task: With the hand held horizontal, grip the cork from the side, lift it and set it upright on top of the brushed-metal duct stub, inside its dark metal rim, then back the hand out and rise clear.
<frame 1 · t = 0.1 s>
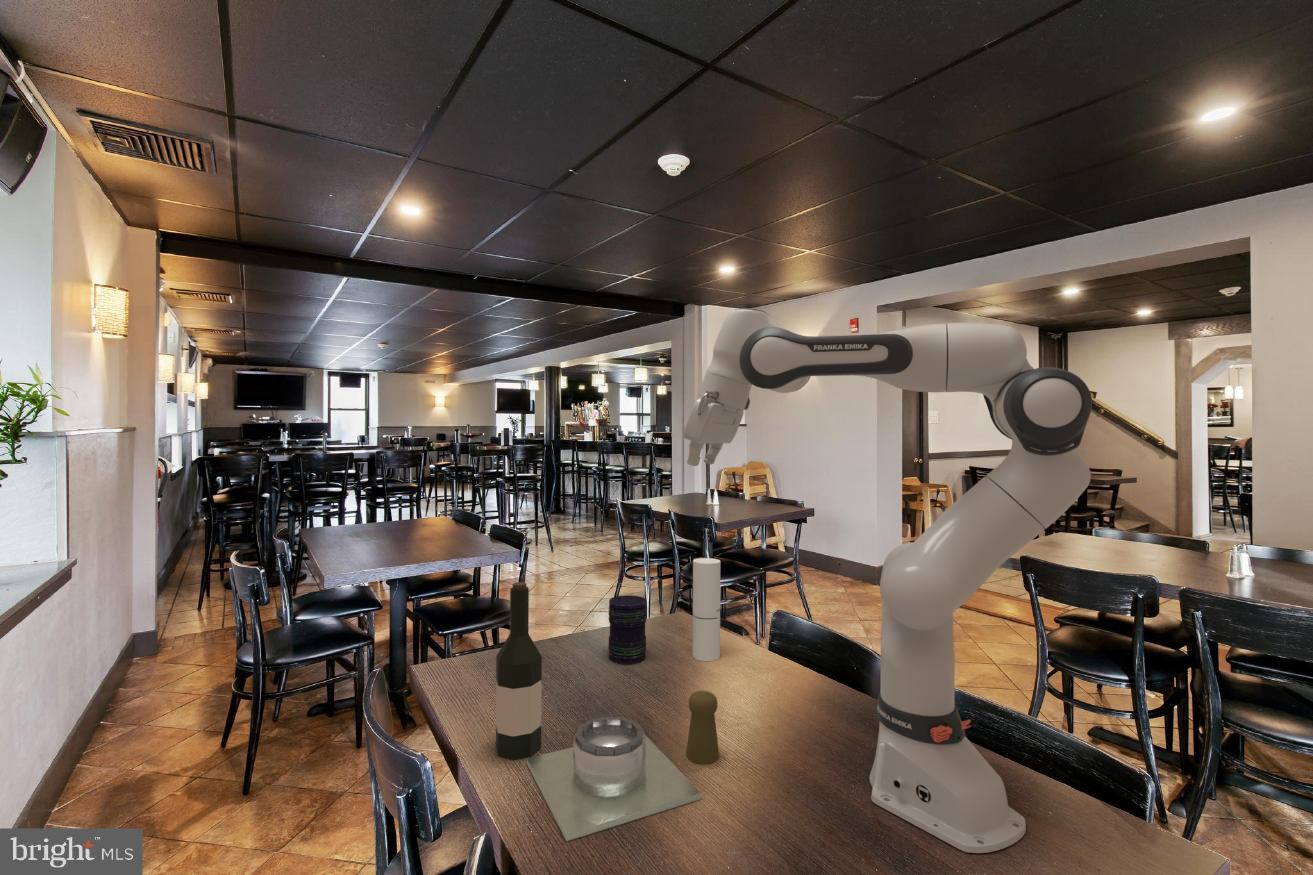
hand: (700, 464, 111), 52 cm above the table, tool tilted 20°, fingers open, 8 cm apart
cork: (702, 756, 105), on the table
storage jar: (627, 658, 152), on the table
cylindrical container: (706, 657, 154), on the table
wine bottle: (518, 748, 107), on the table
duct stub: (609, 780, 97), on the table
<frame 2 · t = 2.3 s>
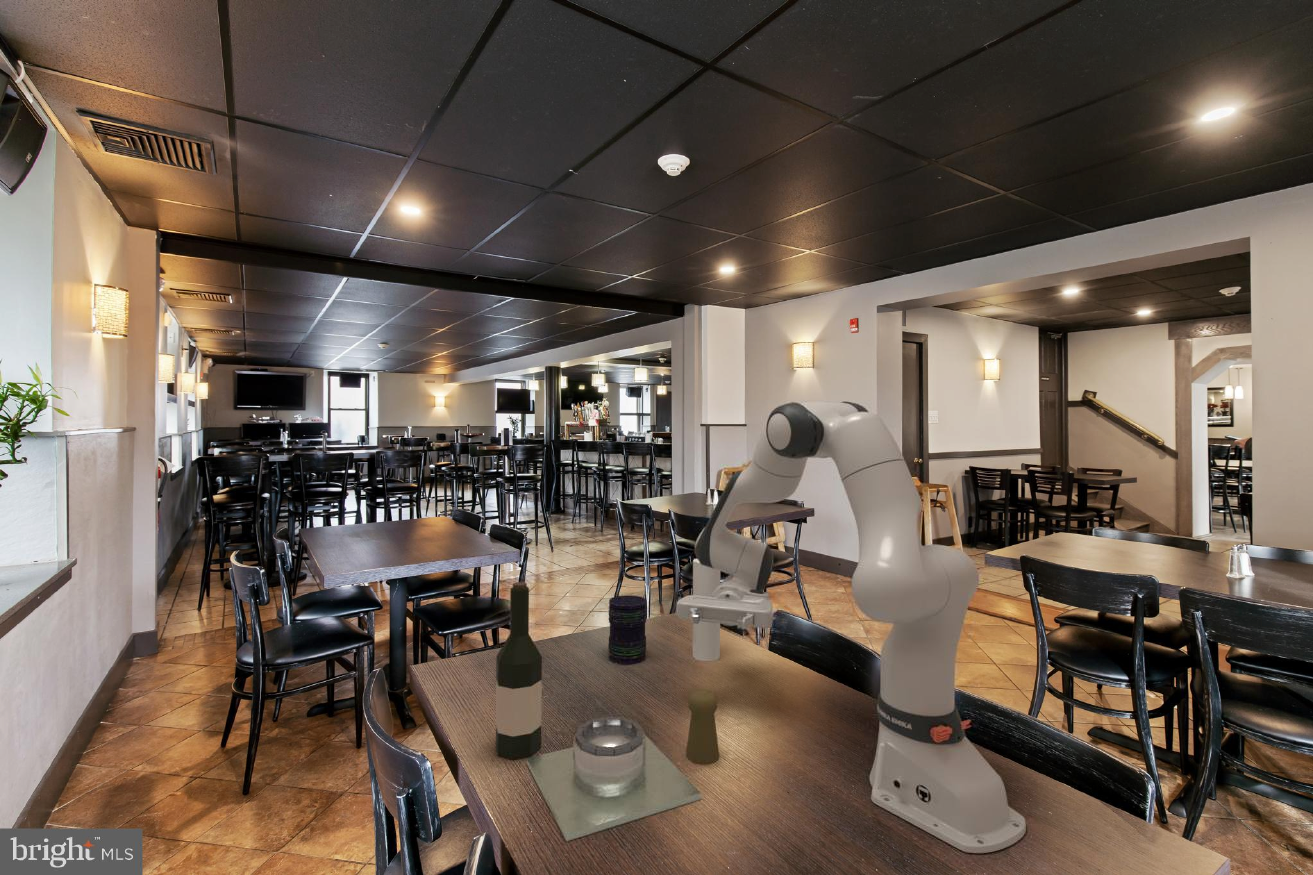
hand: (717, 622, 117), 20 cm above the table, tool horizontal, fingers open, 8 cm apart
nothing on the table moved.
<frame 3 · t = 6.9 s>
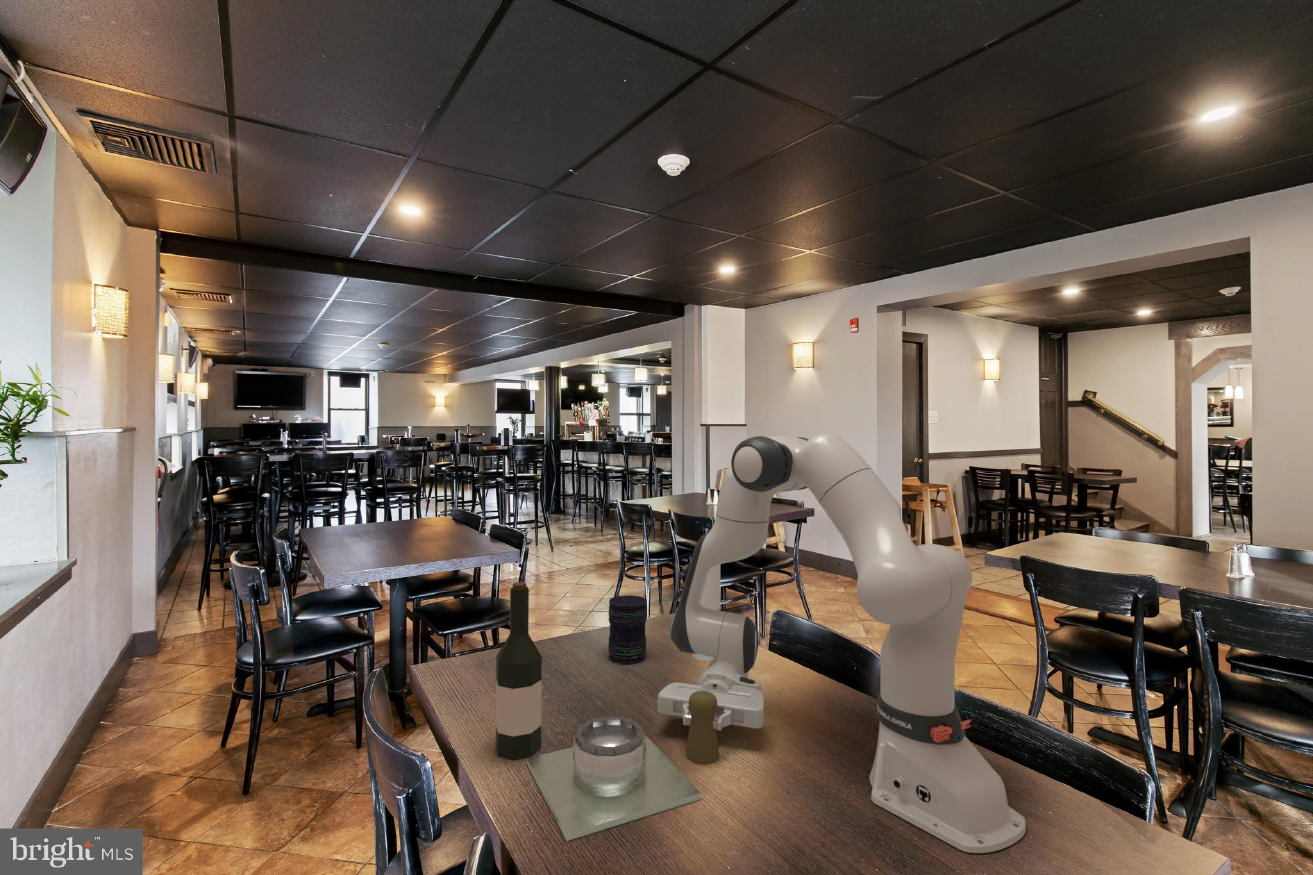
hand: (701, 723, 104), 6 cm above the table, tool horizontal, fingers closed on cork, 4 cm apart
cork: (702, 756, 105), on the table, touching gripper
everything else where it was.
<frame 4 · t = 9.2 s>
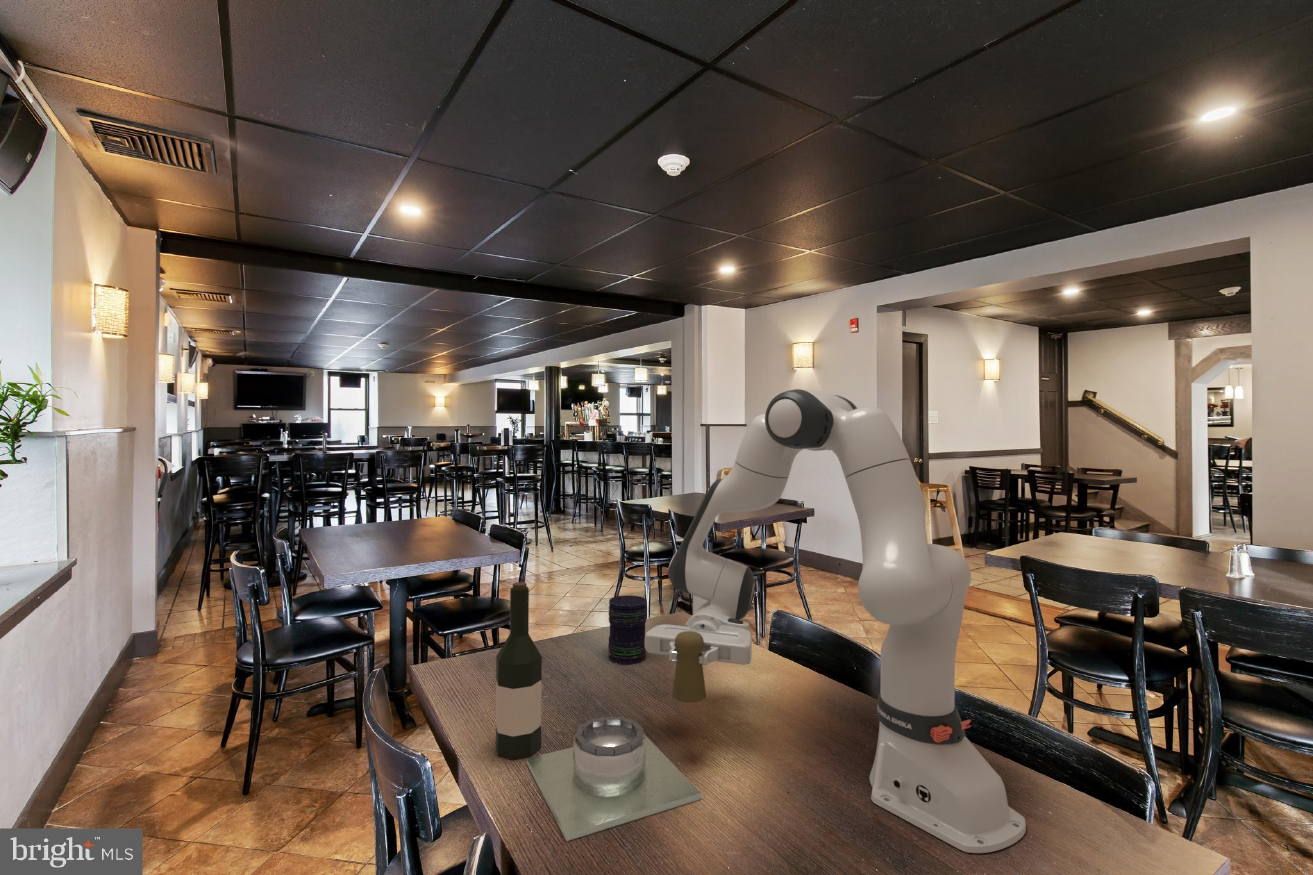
hand: (687, 658, 104), 18 cm above the table, tool horizontal, fingers closed on cork, 4 cm apart
cork: (689, 696, 104), point 11 cm above the table, touching gripper
everything else where it was.
when the fingers open (15 cm above the table, at t = 11.4 s): cork drops 1 cm, resting on duct stub.
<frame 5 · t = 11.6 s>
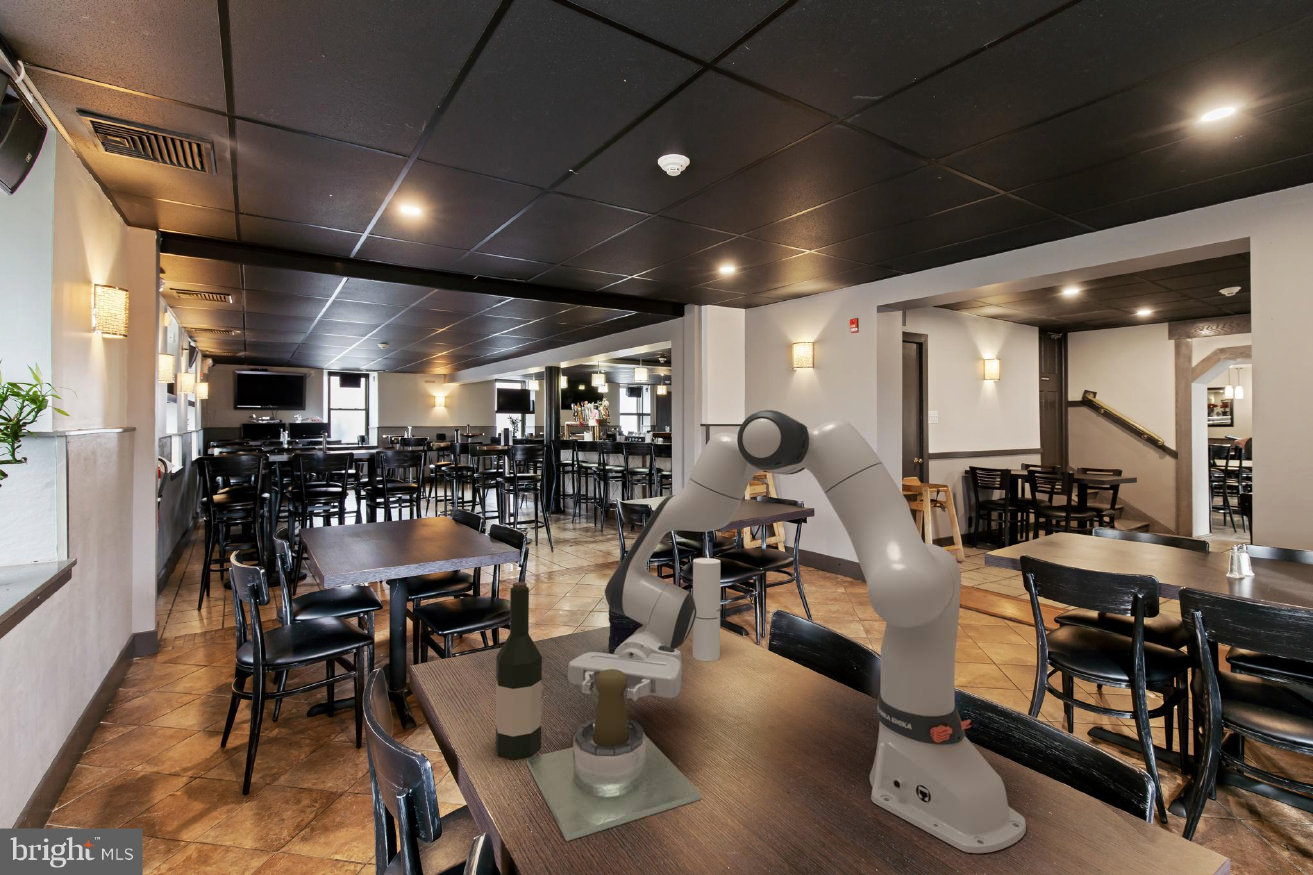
hand: (608, 692, 96), 15 cm above the table, tool horizontal, fingers open, 7 cm apart
cork: (610, 739, 97), point 7 cm above the table, touching duct stub
everything else where it was.
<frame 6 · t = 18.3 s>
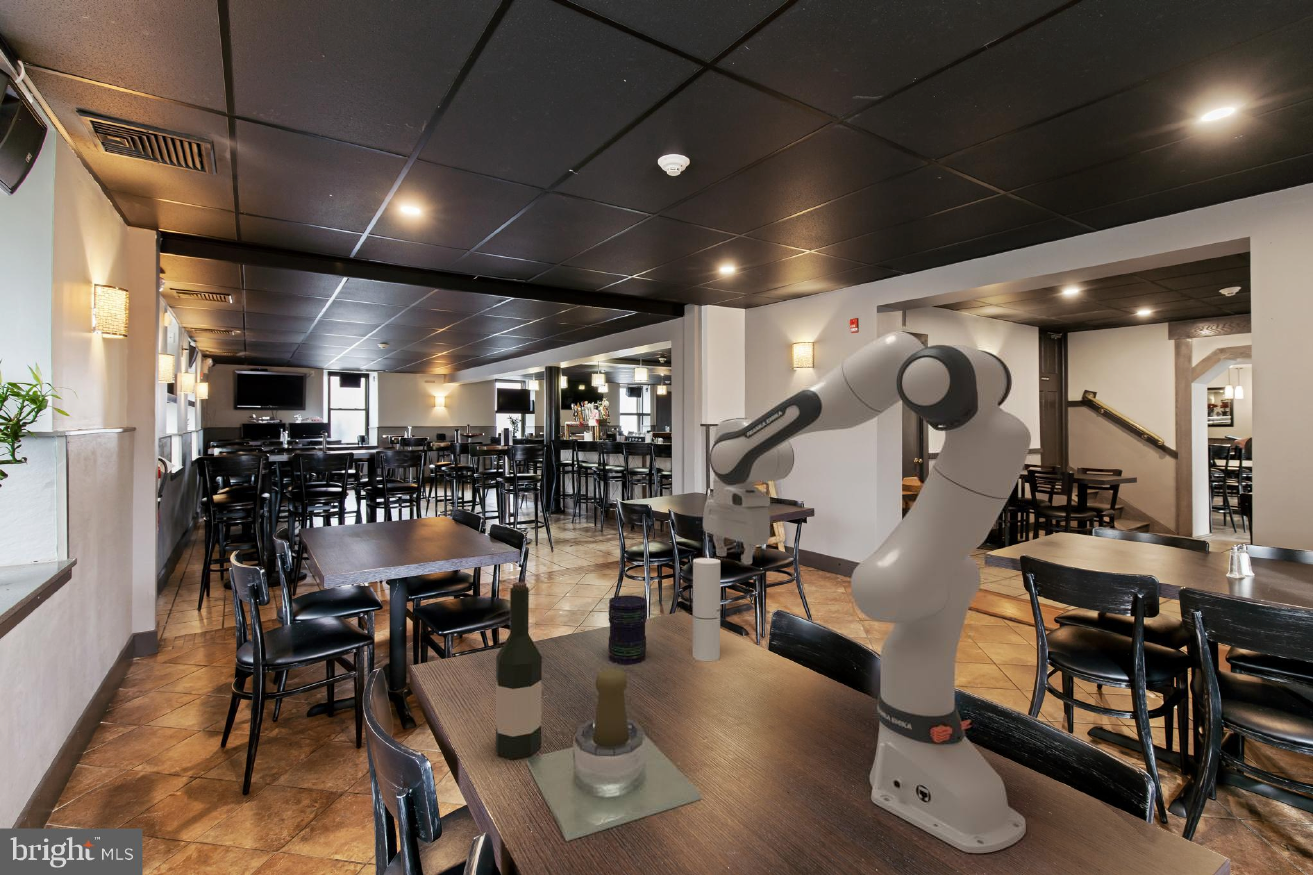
hand: (733, 559, 125), 31 cm above the table, tool pointing down, fingers open, 8 cm apart
nothing on the table moved.
at the end: cork 0.2 cm off-centre on the duct stub, point 6.8 cm above the duct stub's base; cork tilted 0°; the gripper is holding nothing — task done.
